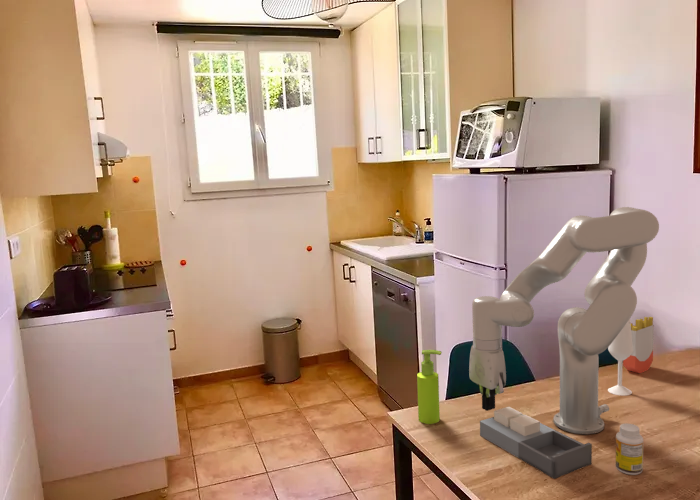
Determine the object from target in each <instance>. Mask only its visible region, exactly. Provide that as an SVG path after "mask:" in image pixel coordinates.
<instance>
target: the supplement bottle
mask: <svg viewBox="0 0 700 500" xmlns="http://www.w3.org/2000/svg"><path fill="white" fill-rule="evenodd" d="M640 433H641V431H640V427H639V426H638V425H636V424H634V423H629V422H628V423H622V424H620V425H619V431H618V432H617V433H616V435H615V467H616V469H617V470H618V471H619V472H621V473H623V474H626V475H629V476H630V475H631V476H636V475H639V474H641V473H642V472H643V470H644V437H643V436H642V435H641V434H640Z"/></svg>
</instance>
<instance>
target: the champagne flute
mask: <svg viewBox="0 0 700 500" xmlns="http://www.w3.org/2000/svg"><path fill="white" fill-rule="evenodd" d="M607 350H608V352H609V354H610V355H611V356H612V358H614V359H615V360H617V384H616V385H614V386H612V387H609V388H607V392H609V393H610V394H611V395H612V394H613V395H616V396H630V395H632V393H633V391H632V390H631V389H629V388H627V387H626V386H624V385H623V360H625V359H627V358H628V357H629V356H630V355H631V354H632V352H633V346H632V334H631V318H630V319H629V320H628V322H627V323H626V325H625V326H624V327H623V329H622V330H621V331H620V333H619V334H618V335H617V337H616V338H615V339H614V341H613V342H612V343H611V345H610V346H609V347H608V348H607Z"/></svg>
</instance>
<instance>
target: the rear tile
mask: <svg viewBox="0 0 700 500" xmlns="http://www.w3.org/2000/svg"><path fill="white" fill-rule="evenodd" d="M522 414H523V413H522V412H521V411H519V410H516V409H515V408H512V407H511V406H506V407H502V408H499V409H496V410H493V417H494V420H495V421H497V422H499V423H501V424H503V425H505V426H506V427H510V419H512V418H516V417H519V416H522Z"/></svg>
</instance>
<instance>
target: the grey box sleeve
mask: <svg viewBox="0 0 700 500" xmlns="http://www.w3.org/2000/svg"><path fill="white" fill-rule="evenodd" d="M522 415H524V414H523V413H522ZM554 430H555V429H553V428H551V427H549V426H547V425H545V424H543V423H541V422H540V431H539V432H536V433H533V434H530V435H527V436H523V435H522V434H520V433H518V432H516V431H514V430H512V429H510V427H506V426H505V425H503V424H501V423H499V422H497V421H495V420H494V416H492V417H489V418H485V419H483V420H482V419H481V420H479V436H480V437H481V438H483V439H485V440H487V441H489V442H490V443H492V444H493V445H495V446H497V447H499V448H501V449H502V450H504V451H506V452H507V453H509V454H510V455H513V456H514V457H516V458H518V459H519V452H518V442H523V443H525V444H526V445H528V446H530V447H532V448H534V449H539V448H542V447H545V446H548V445H551V444H553V431H554Z"/></svg>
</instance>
